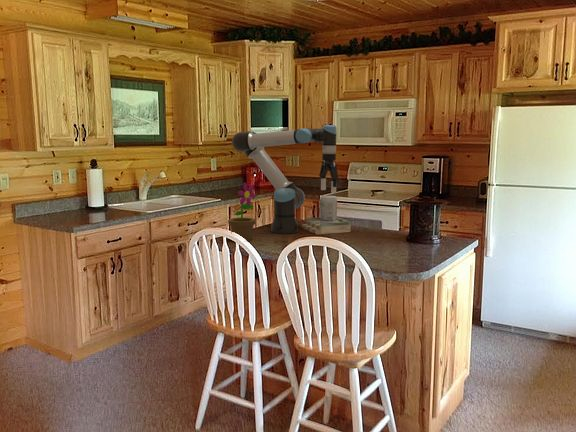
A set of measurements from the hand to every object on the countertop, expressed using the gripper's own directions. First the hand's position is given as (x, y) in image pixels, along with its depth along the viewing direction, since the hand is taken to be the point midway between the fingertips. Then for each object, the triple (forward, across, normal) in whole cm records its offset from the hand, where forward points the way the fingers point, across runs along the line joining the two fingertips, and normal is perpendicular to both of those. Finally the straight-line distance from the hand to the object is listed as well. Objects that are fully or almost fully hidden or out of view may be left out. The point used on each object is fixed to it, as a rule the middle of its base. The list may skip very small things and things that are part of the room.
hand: (328, 191), depth 305 cm
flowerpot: (+22, +8, -53) cm, 58 cm away
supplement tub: (+18, 0, 0) cm, 18 cm away
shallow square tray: (+22, 0, -1) cm, 22 cm away
